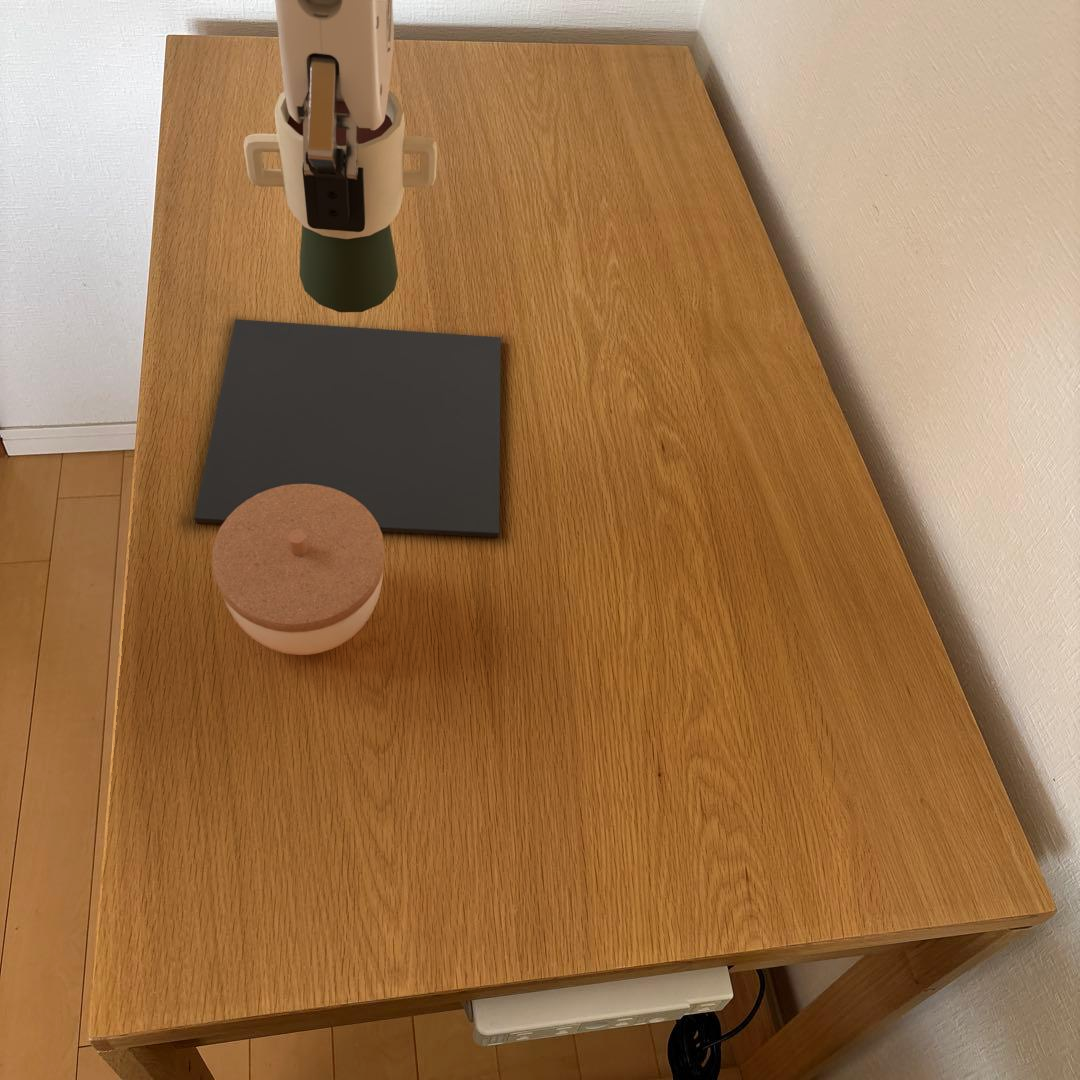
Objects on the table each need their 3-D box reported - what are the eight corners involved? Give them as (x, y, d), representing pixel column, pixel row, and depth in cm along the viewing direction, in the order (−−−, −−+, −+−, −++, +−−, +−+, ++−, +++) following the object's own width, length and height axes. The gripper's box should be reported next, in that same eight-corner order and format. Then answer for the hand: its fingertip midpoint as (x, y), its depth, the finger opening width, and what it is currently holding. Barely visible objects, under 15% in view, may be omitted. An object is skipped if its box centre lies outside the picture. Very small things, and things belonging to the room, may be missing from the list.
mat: (195, 522, 74) (193, 518, 74) (236, 324, 85) (235, 318, 85) (498, 537, 76) (499, 533, 76) (500, 341, 87) (500, 337, 87)
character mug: (428, 248, 70) (433, 72, 59) (437, 323, 66) (443, 150, 56) (265, 248, 68) (239, 68, 58) (263, 326, 65) (236, 148, 54)
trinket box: (216, 564, 72) (193, 486, 65) (365, 531, 75) (361, 452, 68) (244, 698, 67) (223, 630, 59) (403, 657, 70) (403, 588, 62)
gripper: (395, -38, 42) (397, 290, 56) (418, -221, 51) (415, 100, 66) (206, -58, 41) (258, 279, 56) (265, -240, 50) (296, 89, 65)
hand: (343, 180), depth 61 cm, fingers closed on character mug, 7 cm apart
